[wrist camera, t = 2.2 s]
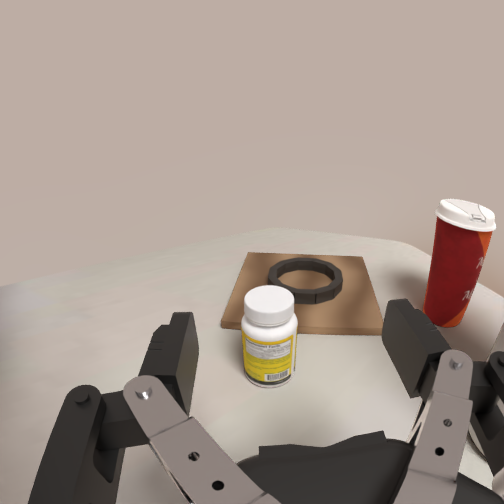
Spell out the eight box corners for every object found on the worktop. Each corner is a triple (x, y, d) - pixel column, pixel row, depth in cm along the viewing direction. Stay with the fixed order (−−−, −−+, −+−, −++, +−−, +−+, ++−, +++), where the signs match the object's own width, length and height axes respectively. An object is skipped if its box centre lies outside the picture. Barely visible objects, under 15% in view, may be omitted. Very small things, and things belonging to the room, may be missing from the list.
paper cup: (475, 333, 30) (509, 222, 24) (419, 331, 32) (447, 214, 26) (459, 299, 37) (482, 201, 31) (410, 295, 39) (429, 194, 33)
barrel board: (221, 327, 35) (219, 309, 34) (248, 258, 51) (247, 243, 50) (383, 335, 32) (387, 316, 31) (361, 262, 48) (363, 247, 47)
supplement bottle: (261, 348, 32) (259, 277, 28) (302, 363, 29) (309, 290, 26) (234, 377, 28) (227, 303, 25) (279, 396, 26) (282, 321, 22)
